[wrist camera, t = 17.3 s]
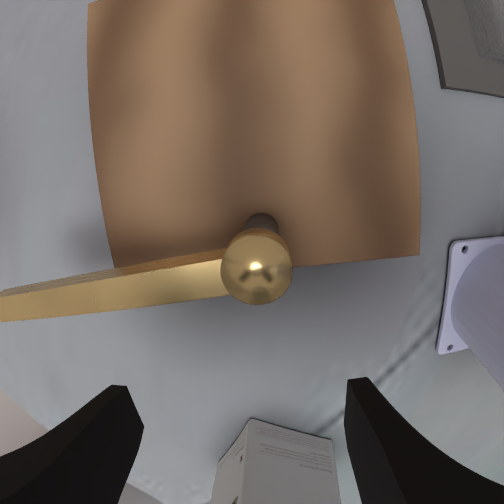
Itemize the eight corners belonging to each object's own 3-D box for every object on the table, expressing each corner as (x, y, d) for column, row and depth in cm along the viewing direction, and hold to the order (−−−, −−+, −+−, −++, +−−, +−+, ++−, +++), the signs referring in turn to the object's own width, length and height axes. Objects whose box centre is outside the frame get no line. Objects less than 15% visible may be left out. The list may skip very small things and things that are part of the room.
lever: (284, 222, 11) (286, 231, 9) (294, 283, 11) (297, 298, 10) (0, 280, 12) (-15, 289, 11) (16, 320, 13) (3, 331, 12)
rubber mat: (514, -13, 10) (518, -15, 10) (545, 107, 13) (550, 107, 13) (405, -48, 11) (408, -52, 11) (441, 88, 14) (446, 86, 14)
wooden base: (372, -20, 12) (407, -73, 7) (405, 244, 17) (457, 285, 11) (103, 14, 14) (48, -22, 8) (131, 268, 18) (80, 315, 13)
